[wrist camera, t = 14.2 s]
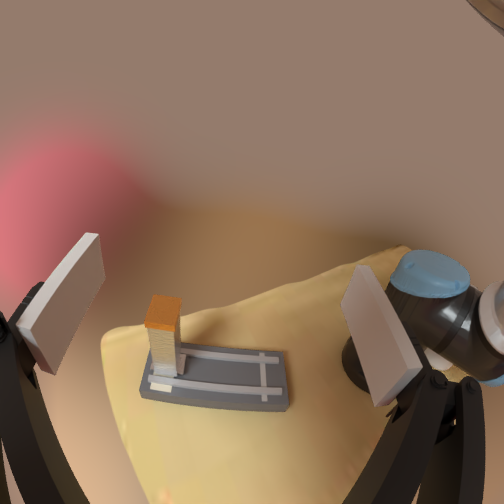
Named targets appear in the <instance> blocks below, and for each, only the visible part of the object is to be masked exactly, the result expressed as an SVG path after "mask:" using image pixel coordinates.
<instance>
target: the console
mask: <svg viewBox="0 0 504 504" xmlns="http://www.w3.org/2000/svg"><path fill="white" fill-rule="evenodd" d="M181 354H186V360H185V366H184V372H183V375H178V374H177V377H175V376H169V375H163V374H157V373H155V371H153V370H150V366H151V363H152V354H151V348H150V351H149V354H148V358H147V362H146V365H145V369H144V373H143V377H142V381H141V385H140V389H139V391H140V394H141V397H142V398H145V399H151V400H156V401H162V402H168V403H174V404H181V405H188V406H196V407H205V408H215V409H226V410H241V411H265V412H285V411H286V409H287V408H288V406H289V398H288V390H287V381H286V373H285V365H284V357H283V352H276V351H259V350H246V349H234V348H224V347H214V346H205V345H197V344H189V343H182V342H181Z"/></svg>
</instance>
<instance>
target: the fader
mask: <svg viewBox="0 0 504 504" xmlns="http://www.w3.org/2000/svg"><path fill="white" fill-rule="evenodd" d="M181 305H182V299H181V298H177V297H169V296H162V295H155V294H154V295H153V298H152V301H151V303H150V306H149V309H148V312H147V315H146V318H145V320H144V324H145V327H146V328H147V329H148V336H149V342H150V348H151V354H152V363H151V366H150V370H153V371H155V373H157V374H163V375H169V376H175V377H177V374H178V375H183V372H184V366H185V360H186V354H181V333H180V309H181Z"/></svg>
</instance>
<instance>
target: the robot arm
mask: <svg viewBox="0 0 504 504" xmlns="http://www.w3.org/2000/svg"><path fill="white" fill-rule="evenodd" d="M466 1H467V2H468V3H469V4H470V5H471V6H472V7H473V8H474V10H476V11H477V12H478V13H479V15H480V16H481V17H482V18H483V19H484V20H486V21H487V22H488V23H489V24H490V25H491V26H492V27H493V28H494V29H495V30H497V31H498V32H499V33H500V34H501V35H503V36H504V0H466ZM104 280H105V273H104V268H103V261H102V254H101V248H100V240H99V234H94V233H85V235H84V236H83V237H82V238H81V239H80V240H79V241H78V243H77V244H76V245H75V246H74V247H73V248H72V249H71V251H70V252H69V253H68V254H67V256H66V257H65V258H64V259H63V260H62V262H61V263H60V264H59V265H58V267H57V268H56V269H55V270H54V272H53V273H52V274H51V276H50V277H49V278H48V279H47V281H46V282H39V283H38V284H37V285H35V286H34V287H32V289H31V290H30V291H29V293H28V294H27V295H26V297H25V298H24V299H23V301H22V303H20V305H19V306H18V308H17V309H16V311H15V312H14V313H13V315H12V316H11V318H10V319H9V321H8V322H7V321H6V320H5V317H4V315H3V313H2V312H1V311H0V504H11V501H10V496H9V492H8V487H7V482H6V475H5V469H4V461H3V453H2V443H1V438H2V442H3V446H4V449H5V452H6V455H7V459H8V462H9V464H10V467H11V470H12V473H13V476H14V478H15V481H16V483H17V486H18V489H19V491H20V493H21V495H22V498H23V500H24V502H25V504H90V503H89V501H88V499H87V497H86V496H85V494H84V492H83V491H82V489H81V487H80V485H79V483H78V481H77V479H76V478H75V476H74V474H73V472H72V470H71V468H70V466H69V464H68V462H67V459H66V457H65V455H64V453H63V450H62V448H61V446H60V444H59V441H58V439H57V436H56V434H55V431H54V429H53V426H52V423H51V421H50V418H49V415H48V412H47V409H46V407H45V403H44V400H43V397H42V394H41V390H40V387H39V384H38V380H37V376H36V373H35V371H34V369H33V367H34V365H35V363H36V362H37V364H38V366H39V367H40V369H41V370H42V371H45V372H47V373H50V374H53V375H56V372H57V370H58V368H59V365H60V364H61V361H62V359H63V357H64V355H65V353H66V351H67V349H68V347H69V345H70V342H71V340H72V338H73V336H74V334H75V332H76V331H77V329H78V327H79V324H80V323H81V321H82V319H83V317H84V315H85V313H86V311H87V310H88V308H89V306H90V304H91V302H92V301H93V299H94V297H95V295H96V293H97V292H98V290H99V288H100V287H101V285H102V283H103V281H104ZM340 306H341V308H342V311H343V314H344V317H345V319H346V322H347V325H348V328H349V330H350V333H351V337H350V338H349V339H348V341H347V343H346V345H345V346H344V349H343V352H342V363H343V367H344V369H345V371H346V373H347V375H348V376H349V378H350V379H351V380H352V381H353V382H354V383H355V384H356V385H357V386H358V387H359V388H361V389H362V390H364V391H366V392H368V393H370V394H371V397H372V400H373V404H374V407H377V406H384V405H389V404H390V403H391V402H392V401H393V400H394V399H395V398H396V399H397V402H398V404H397V405H396V406H395V407H394V408H393V409H392V410H391V411H390V412H389V413H388V414H387V415H386V417H389V416H390V415H391V417H390V419H389V421H388V423H387V425H386V428H385V430H384V432H383V434H382V436H381V438H380V440H379V442H378V444H377V446H376V448H375V450H374V452H373V453H372V455H371V457H370V459H369V461H368V463H367V464H366V466H365V468H364V470H363V471H362V473H361V475H360V476H359V478H358V480H357V481H356V483H355V485H354V486H353V488H352V489H351V491H350V492H349V494H348V496H347V497H346V499H345V500H344V501H343V503H342V504H411V503H412V501H413V499H414V496H415V494H416V492H417V490H418V487H419V485H420V483H421V485H420V489H419V494H418V499H417V503H416V504H482V500H483V491H484V478H485V422H484V409H483V399H482V390H481V387H480V385H479V383H478V382H481V383H483V384H485V385H487V386H490V387H496V386H500V385H502V384H504V281H497V282H493V283H491V284H490V285H488V287H486V289H485V290H484V291H483V292H480V291H479V290H477V289H475V288H474V287H472V286H471V285H470V275H469V273H468V271H467V270H466V269H465V268H464V267H463V266H461V265H460V264H459V262H457V261H455V260H454V259H452V258H450V257H448V256H446V255H444V254H441V253H438V252H434V251H430V250H413V251H410V252H408V253H406V254H405V255H404V256H403V257H402V259H401V260H400V262H399V264H398V266H397V268H396V270H395V271H394V272H393V273H392V275H391V277H390V282H389V284H388V286H387V288H386V290H385V292H384V290H383V288H382V287H381V285H380V283H379V281H378V280H377V278H376V276H375V275H374V273H373V271H372V269H371V268H370V266H365V265H357V266H356V268H355V271H354V273H353V275H352V278H351V280H350V283H349V285H348V287H347V290H346V292H345V295H344V297H343V299H342V301H341V304H340ZM427 348H429V349H430V350H432V351H434V352H435V353H437V354H438V355H440V356H441V357H443V358H444V359H446V360H447V361H449V362H451V363H452V364H454V365H455V366H457V367H458V368H460V369H461V370H463V371H464V372H466V373H467V374H469V375H470V376H466V377H464V378H463V379H462V380H461V381H460V382H459V383H456V382H451V381H448V379H447V378H446V376H445V375H444V374H443V373H441V372H440V371H438V370H433V369H432V367H431V365H430V363H429V361H428V359H427V357H426V355H425V353H424V351H425V350H426V349H427ZM455 419H456V425H454V420H455Z"/></svg>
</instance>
